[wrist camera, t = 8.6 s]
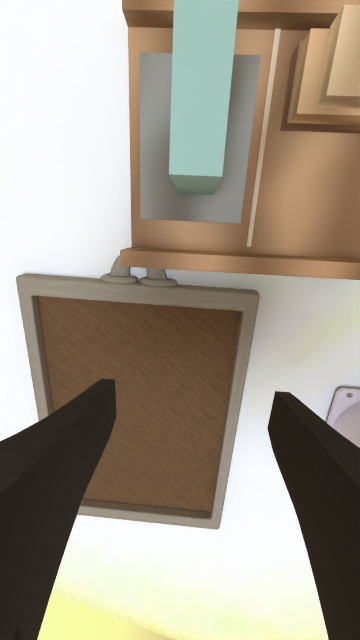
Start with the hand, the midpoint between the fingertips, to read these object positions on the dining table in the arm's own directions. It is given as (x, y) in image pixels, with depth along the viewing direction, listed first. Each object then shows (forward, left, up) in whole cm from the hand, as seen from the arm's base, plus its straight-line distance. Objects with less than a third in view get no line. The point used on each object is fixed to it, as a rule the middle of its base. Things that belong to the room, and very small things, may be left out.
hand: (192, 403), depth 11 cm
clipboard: (+5, +9, -11) cm, 15 cm away
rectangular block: (0, -13, -9) cm, 16 cm away
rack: (-4, -12, -10) cm, 16 cm away
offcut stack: (-8, -15, -10) cm, 20 cm away
